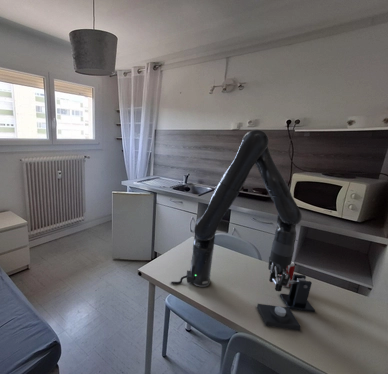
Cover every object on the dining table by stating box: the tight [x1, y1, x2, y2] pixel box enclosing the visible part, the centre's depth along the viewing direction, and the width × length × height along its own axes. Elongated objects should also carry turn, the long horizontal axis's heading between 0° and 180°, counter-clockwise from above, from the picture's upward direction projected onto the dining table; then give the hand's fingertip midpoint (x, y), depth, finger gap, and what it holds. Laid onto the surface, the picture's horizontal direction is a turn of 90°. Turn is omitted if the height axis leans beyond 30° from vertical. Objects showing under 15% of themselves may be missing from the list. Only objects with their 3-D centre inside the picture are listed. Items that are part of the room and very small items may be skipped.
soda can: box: [278, 260, 296, 288], centre depth 106 cm, size 5×5×12 cm
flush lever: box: [271, 277, 307, 286], centre depth 94 cm, size 12×5×2 cm, turn 81°
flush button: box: [275, 305, 286, 317], centre depth 86 cm, size 4×4×2 cm
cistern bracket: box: [279, 273, 316, 313], centre depth 94 cm, size 10×8×13 cm
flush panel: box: [256, 303, 302, 331], centre depth 87 cm, size 12×9×4 cm
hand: (274, 285), depth 95 cm, fingers closed on flush lever, 5 cm apart
